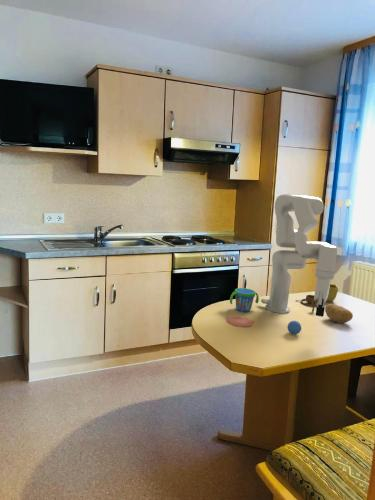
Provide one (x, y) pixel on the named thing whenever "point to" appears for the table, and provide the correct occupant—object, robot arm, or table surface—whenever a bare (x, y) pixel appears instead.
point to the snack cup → (244, 299)
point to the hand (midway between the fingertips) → (319, 315)
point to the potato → (338, 313)
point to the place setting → (310, 301)
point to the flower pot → (332, 292)
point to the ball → (294, 327)
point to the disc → (240, 321)
